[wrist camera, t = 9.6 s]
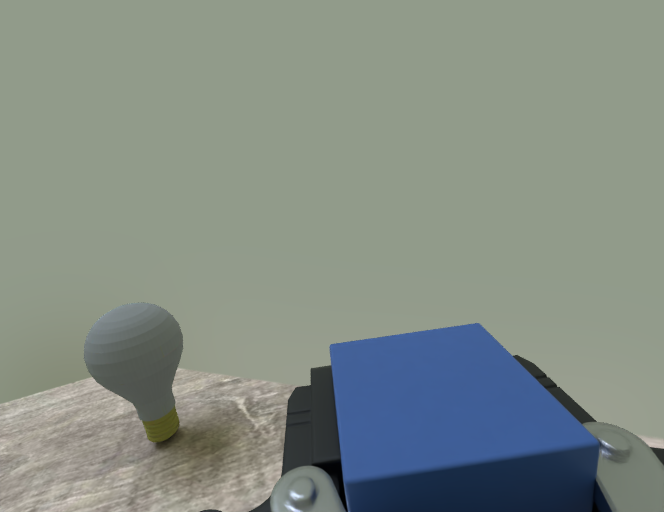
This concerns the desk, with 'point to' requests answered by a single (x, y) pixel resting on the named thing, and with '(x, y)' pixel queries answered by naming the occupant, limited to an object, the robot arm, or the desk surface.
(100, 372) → the light bulb
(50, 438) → the desk surface
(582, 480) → the block
